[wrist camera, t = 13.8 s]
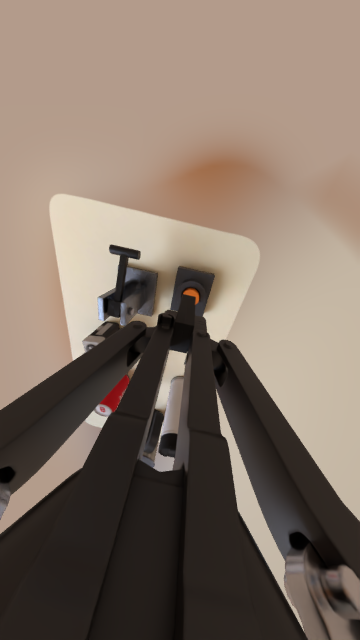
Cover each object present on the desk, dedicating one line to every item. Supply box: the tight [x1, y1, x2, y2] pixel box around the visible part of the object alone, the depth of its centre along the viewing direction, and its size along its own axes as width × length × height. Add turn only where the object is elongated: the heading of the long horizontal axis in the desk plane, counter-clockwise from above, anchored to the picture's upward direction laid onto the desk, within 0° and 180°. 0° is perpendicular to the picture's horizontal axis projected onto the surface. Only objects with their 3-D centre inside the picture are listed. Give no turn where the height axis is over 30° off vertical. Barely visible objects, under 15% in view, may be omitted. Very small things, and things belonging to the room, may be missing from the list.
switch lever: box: [107, 245, 141, 318], centre depth 27 cm, size 12×5×2 cm, turn 169°
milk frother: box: [141, 410, 164, 468], centre depth 54 cm, size 14×16×15 cm
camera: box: [82, 322, 119, 352], centre depth 41 cm, size 14×8×10 cm, turn 177°
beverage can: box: [94, 375, 129, 417], centre depth 47 cm, size 6×6×12 cm
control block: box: [170, 266, 215, 317], centre depth 34 cm, size 10×8×4 cm
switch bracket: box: [98, 265, 158, 326], centre depth 32 cm, size 11×9×13 cm
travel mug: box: [159, 377, 184, 458], centre depth 42 cm, size 6×7×20 cm
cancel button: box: [183, 288, 199, 305], centre depth 32 cm, size 4×4×2 cm
